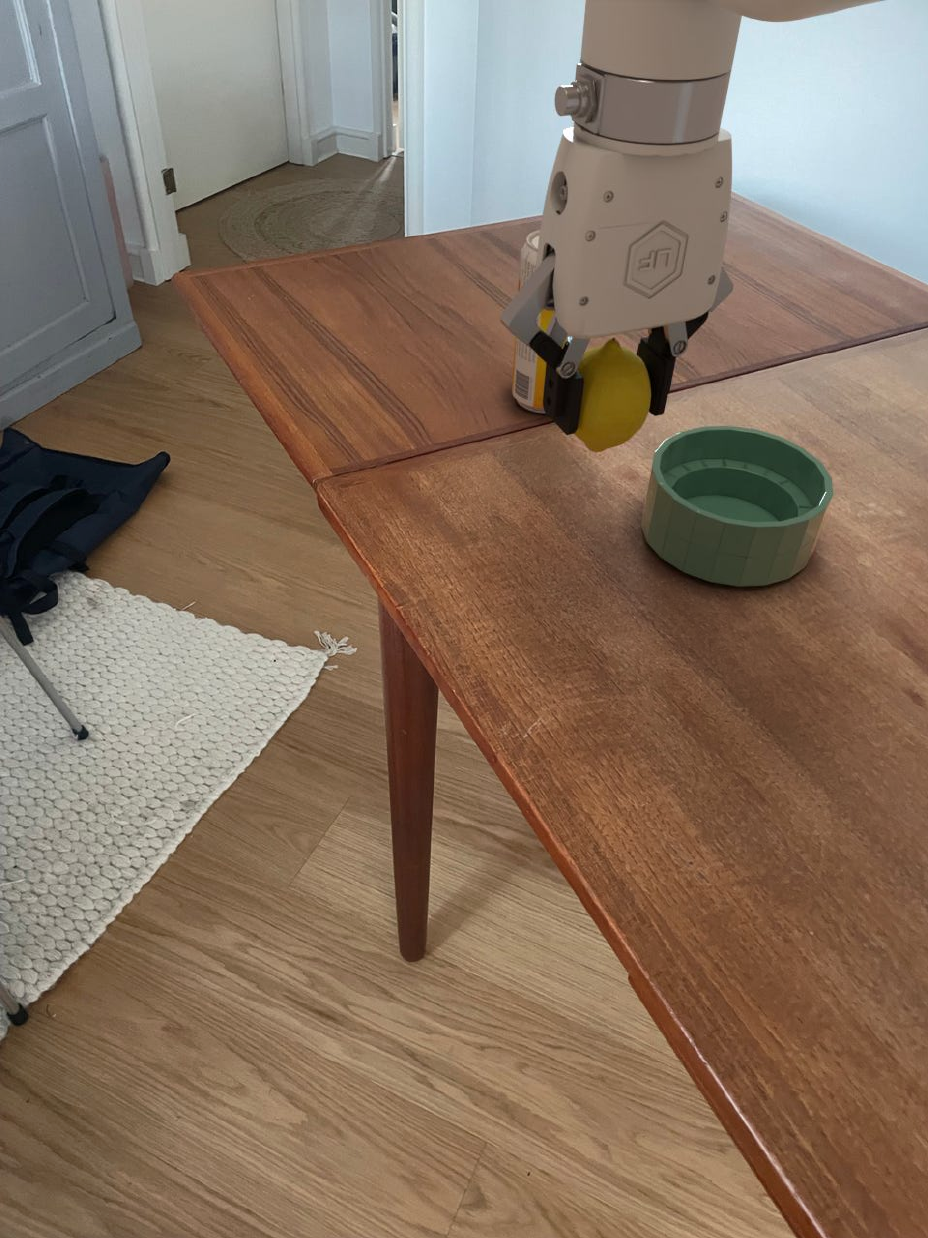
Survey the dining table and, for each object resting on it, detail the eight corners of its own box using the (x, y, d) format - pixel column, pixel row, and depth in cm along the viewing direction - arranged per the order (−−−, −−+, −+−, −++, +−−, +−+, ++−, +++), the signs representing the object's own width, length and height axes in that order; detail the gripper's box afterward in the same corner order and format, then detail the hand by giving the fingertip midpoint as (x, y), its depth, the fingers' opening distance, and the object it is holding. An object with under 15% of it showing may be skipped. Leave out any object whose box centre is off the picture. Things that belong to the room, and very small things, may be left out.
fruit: (638, 479, 60) (658, 364, 54) (552, 467, 60) (564, 353, 55) (643, 433, 64) (663, 322, 58) (562, 423, 64) (574, 312, 59)
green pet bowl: (846, 566, 71) (871, 502, 67) (700, 609, 67) (718, 544, 63) (744, 474, 80) (761, 413, 76) (610, 507, 76) (620, 444, 72)
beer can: (588, 399, 89) (608, 240, 78) (547, 423, 85) (563, 260, 75) (539, 377, 92) (552, 221, 81) (498, 399, 88) (506, 239, 78)
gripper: (530, 141, 43) (508, 472, 55) (831, 108, 48) (749, 418, 60) (466, 97, 48) (458, 410, 60) (745, 72, 53) (685, 365, 65)
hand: (604, 411), depth 60 cm, fingers closed on fruit, 5 cm apart
